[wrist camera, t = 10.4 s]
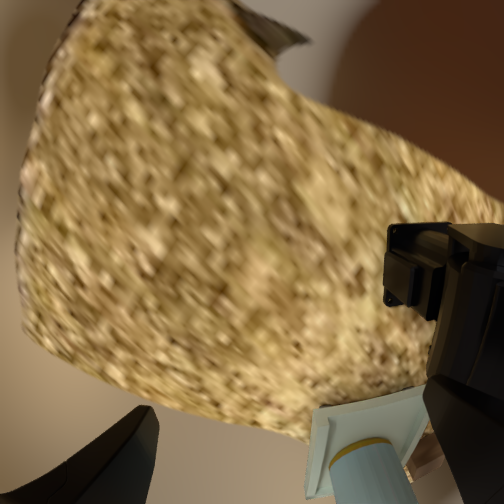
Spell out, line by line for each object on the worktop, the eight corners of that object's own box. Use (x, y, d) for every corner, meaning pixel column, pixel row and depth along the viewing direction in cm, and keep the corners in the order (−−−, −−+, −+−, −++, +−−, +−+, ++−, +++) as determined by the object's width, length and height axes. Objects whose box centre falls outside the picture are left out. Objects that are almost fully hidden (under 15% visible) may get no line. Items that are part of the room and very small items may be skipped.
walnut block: (433, 431, 26) (446, 453, 21) (430, 446, 27) (441, 466, 22) (405, 446, 26) (416, 468, 22) (403, 459, 27) (413, 481, 23)
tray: (422, 372, 23) (439, 395, 19) (388, 457, 26) (397, 478, 23) (309, 396, 23) (317, 427, 19) (302, 476, 27) (305, 499, 23)
